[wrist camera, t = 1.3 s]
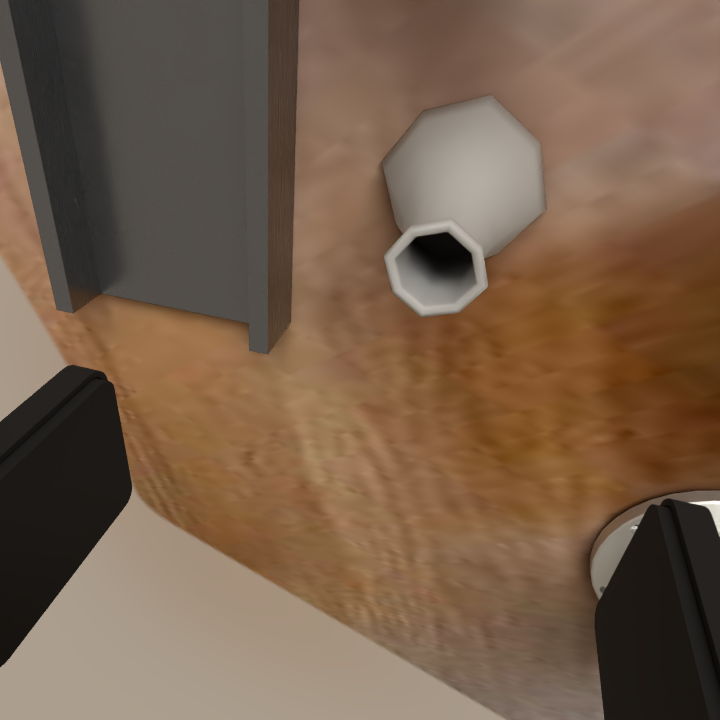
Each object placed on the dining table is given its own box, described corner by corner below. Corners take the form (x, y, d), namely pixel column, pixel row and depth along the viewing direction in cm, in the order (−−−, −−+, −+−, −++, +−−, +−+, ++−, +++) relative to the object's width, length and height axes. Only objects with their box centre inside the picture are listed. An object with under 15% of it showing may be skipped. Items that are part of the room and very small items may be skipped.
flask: (574, 214, 26) (595, 320, 18) (433, 281, 30) (396, 396, 21) (502, 60, 24) (487, 101, 16) (356, 152, 27) (281, 226, 19)
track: (290, 321, 33) (267, 354, 30) (96, 282, 35) (56, 309, 32) (302, -148, 22) (268, -168, 19) (14, -170, 23) (-57, -191, 21)
